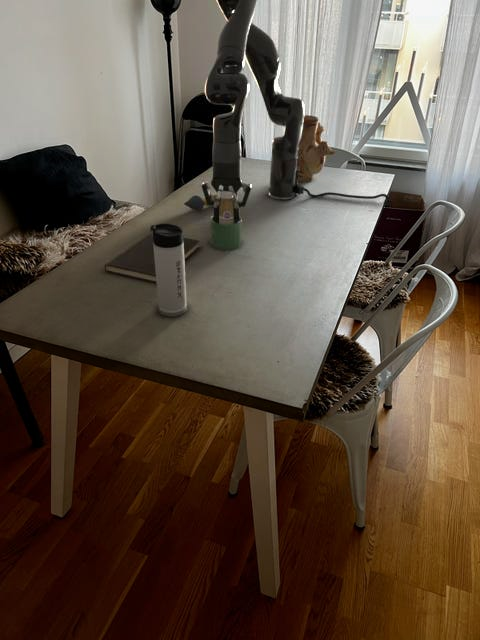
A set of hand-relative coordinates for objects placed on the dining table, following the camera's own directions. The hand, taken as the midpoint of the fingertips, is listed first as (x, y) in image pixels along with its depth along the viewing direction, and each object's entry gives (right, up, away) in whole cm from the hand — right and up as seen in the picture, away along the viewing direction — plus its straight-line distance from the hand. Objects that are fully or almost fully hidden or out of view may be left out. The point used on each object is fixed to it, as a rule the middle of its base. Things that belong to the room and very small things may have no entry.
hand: (226, 219), depth 132 cm
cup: (0, -6, +4) cm, 7 cm away
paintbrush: (-7, +11, +29) cm, 32 cm away
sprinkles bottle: (0, -4, +3) cm, 5 cm away
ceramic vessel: (+31, +29, +58) cm, 72 cm away
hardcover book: (-19, -12, -6) cm, 24 cm away
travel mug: (-12, -26, -26) cm, 39 cm away
